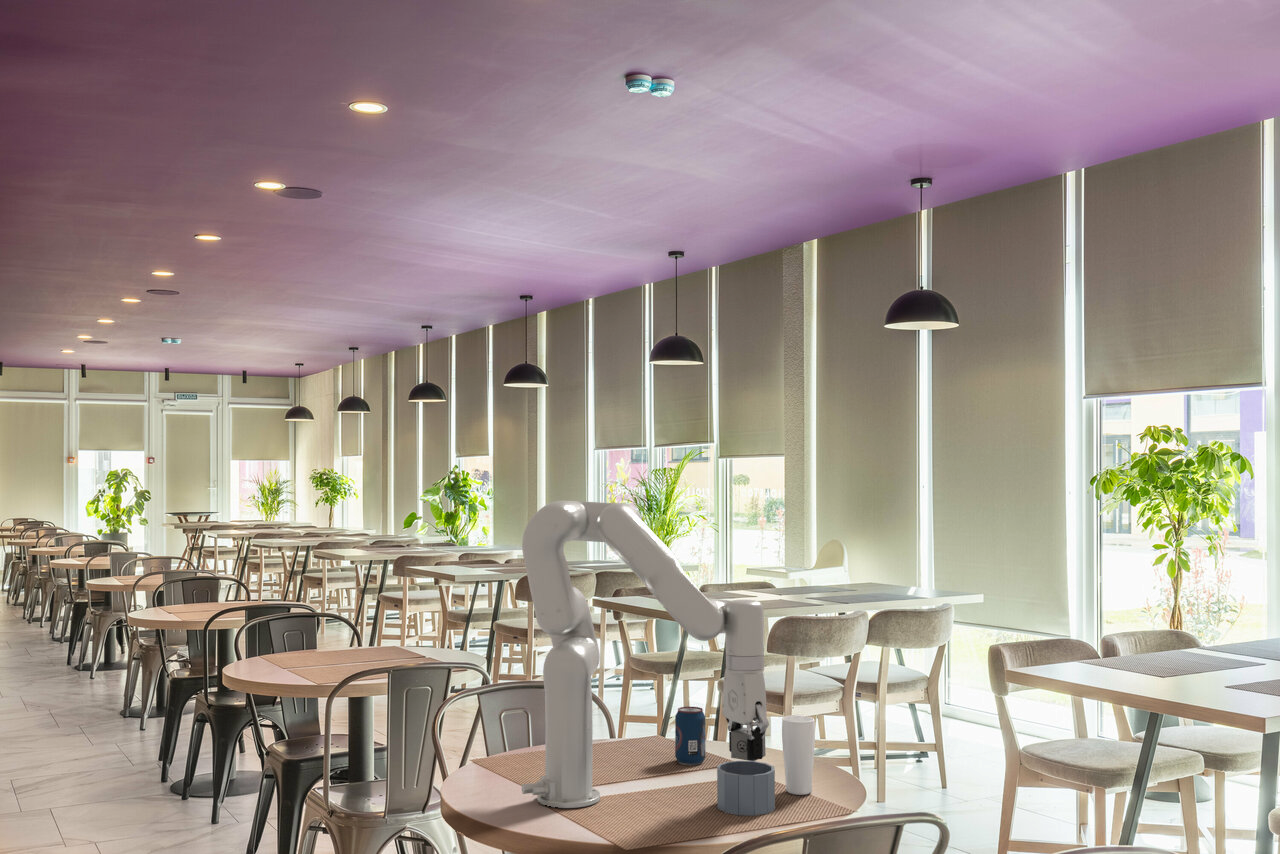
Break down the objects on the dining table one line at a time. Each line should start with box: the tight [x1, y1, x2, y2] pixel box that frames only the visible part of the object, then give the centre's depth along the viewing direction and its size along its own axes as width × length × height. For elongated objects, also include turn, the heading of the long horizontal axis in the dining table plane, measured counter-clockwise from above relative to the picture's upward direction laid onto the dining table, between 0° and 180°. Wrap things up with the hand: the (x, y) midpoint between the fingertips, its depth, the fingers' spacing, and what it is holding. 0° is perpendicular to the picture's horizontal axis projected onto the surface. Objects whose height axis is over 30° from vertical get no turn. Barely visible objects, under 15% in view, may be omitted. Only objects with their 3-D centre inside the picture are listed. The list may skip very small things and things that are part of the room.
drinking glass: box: [781, 714, 816, 796], centre depth 218 cm, size 7×7×15 cm
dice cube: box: [730, 726, 766, 761], centre depth 209 cm, size 5×5×5 cm
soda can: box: [674, 706, 707, 766], centre depth 242 cm, size 7×7×12 cm
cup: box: [716, 760, 776, 817], centre depth 208 cm, size 11×11×8 cm
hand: (745, 754), depth 208 cm, fingers closed on dice cube, 6 cm apart
